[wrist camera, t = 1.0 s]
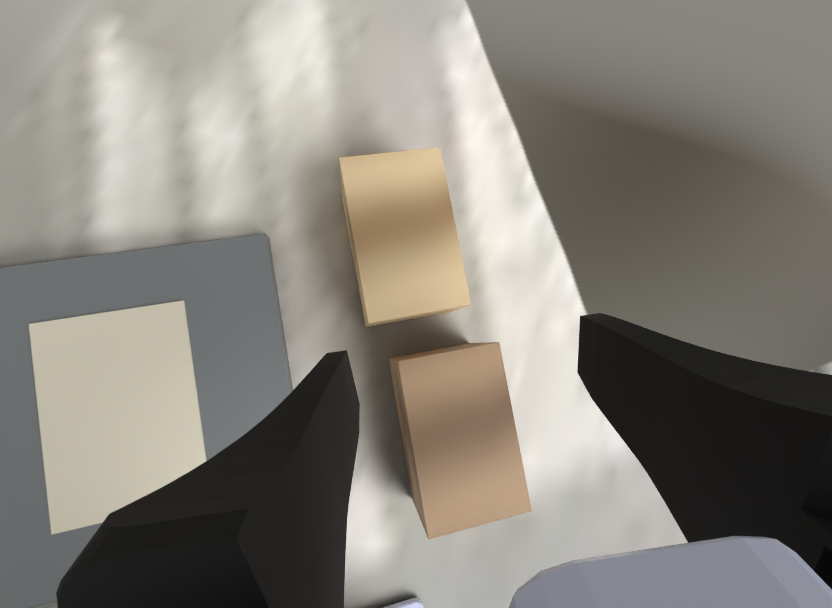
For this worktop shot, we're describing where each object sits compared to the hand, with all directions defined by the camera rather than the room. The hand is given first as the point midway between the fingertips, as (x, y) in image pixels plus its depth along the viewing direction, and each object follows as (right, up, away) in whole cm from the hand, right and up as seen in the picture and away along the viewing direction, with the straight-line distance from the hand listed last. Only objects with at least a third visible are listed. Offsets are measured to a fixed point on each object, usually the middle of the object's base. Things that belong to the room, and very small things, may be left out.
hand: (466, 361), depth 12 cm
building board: (-16, -4, +8) cm, 19 cm away
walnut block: (0, -5, +11) cm, 12 cm away
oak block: (-3, +5, +12) cm, 13 cm away
